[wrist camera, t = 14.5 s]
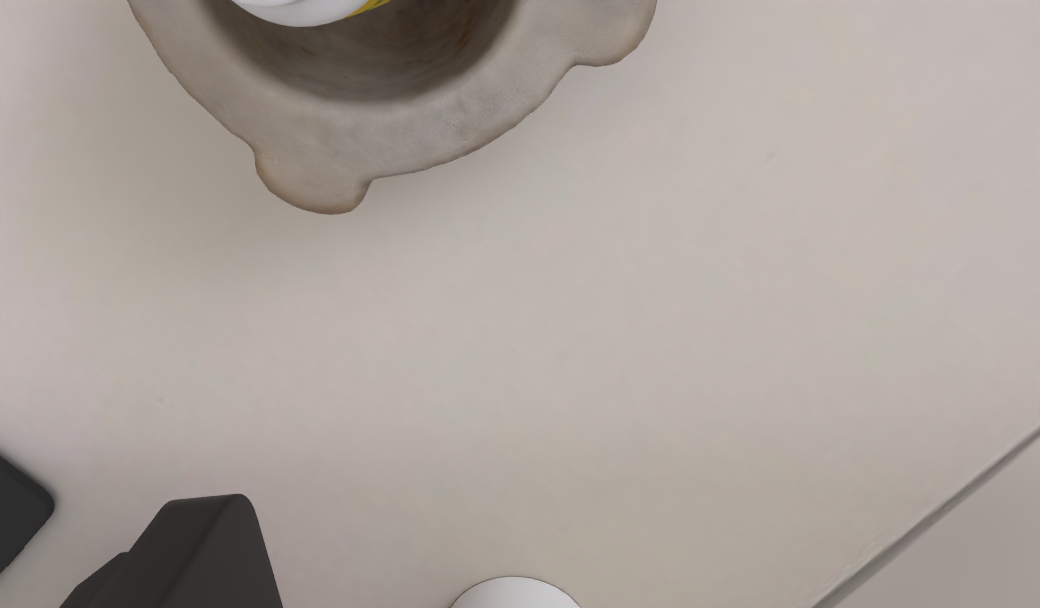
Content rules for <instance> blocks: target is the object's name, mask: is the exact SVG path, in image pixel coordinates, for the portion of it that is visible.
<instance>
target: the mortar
mask: <svg viewBox="0 0 1040 608" xmlns="http://www.w3.org/2000/svg"><path fill="white" fill-rule="evenodd" d="M127 1H128V3H129V5H130V8H131V10H132V12H133V14H134V16H135V18H136V20H137V22H138V23H139V25H140V26H141V28H142V29H143V31H144V32H145V34H146V36H147V37H148V39H149V40H150V42H151V43H152V45H153V47H154V49H155V50H156V52H157V54H158V56H159V57H160V59H161V60H162V62H163V63H164V65H165V66H166V68H167V69H168V70H169V72H170V73H172V74H173V75H174V76H175V77H176V79H177V80H178V81H179V83H180V84H181V85H182V87H183V88H184V89H185V90H186V91H187V92H188V94H189V95H190V96H191V97H193V98H194V99H195V100H196V101H197V102H198V103H200V104H201V105H202V106H203V107H204V108H205V109H206V110H207V111H208V112H209V113H210V114H211V115H213V116H214V117H215V118H216V119H217V120H218V121H219V122H220V123H221V124H222V125H223V126H224V127H225V128H226V129H228V130H229V131H230V132H231V133H232V134H234V135H235V136H237V137H239V138H240V139H242V140H243V141H245V142H246V143H247V144H248V145H249V146H250V147H251V149H252V150H253V152H254V156H255V165H256V171H257V174H258V176H259V177H260V179H261V180H262V181H263V183H264V184H265V186H266V187H267V188H268V190H269V191H270V192H272V193H273V194H275V195H276V196H277V197H279V198H280V199H282V200H284V201H286V202H288V203H289V204H291V205H293V206H295V207H298V208H300V209H303V210H306V211H311V212H315V213H320V214H342V213H346V212H350V211H352V210H353V209H354V208H356V207H357V206H358V205H359V204H360V203H361V201H362V200H363V198H364V196H365V194H366V192H367V190H368V187H369V185H370V183H371V182H372V181H373V180H374V179H377V178H381V177H388V176H394V175H400V174H408V173H414V172H418V171H422V170H426V169H429V168H431V167H434V166H437V165H440V164H445V163H447V162H450V161H453V160H455V159H457V158H459V157H462V156H465V155H468V154H469V153H471V152H473V151H476V150H478V149H480V148H481V147H483V146H485V145H486V144H488V143H490V142H492V141H493V140H495V139H496V138H498V137H500V136H501V135H503V134H504V133H505V132H507V131H508V130H510V129H512V128H513V127H515V126H516V125H517V124H518V123H519V122H520V121H521V120H522V119H524V118H525V117H526V116H527V115H529V114H530V113H532V112H533V111H534V110H535V109H537V108H538V107H539V106H540V105H541V104H542V103H543V102H544V101H545V100H546V99H547V97H548V96H549V95H550V94H551V92H552V91H553V89H554V88H555V86H556V85H557V84H558V82H559V81H560V80H561V79H562V77H563V76H564V75H565V73H566V72H567V71H568V70H569V69H571V68H572V67H573V66H576V65H588V66H594V67H598V66H606V65H611V64H614V63H617V62H619V61H621V60H622V59H623V58H624V57H625V56H626V55H628V54H629V53H630V52H632V51H633V50H635V49H636V48H637V46H638V45H639V44H640V42H641V41H642V39H643V38H644V36H645V35H646V32H647V30H648V28H649V26H650V23H651V21H652V19H653V16H654V12H655V8H656V3H657V0H391V1H389V2H388V3H385V4H383V5H381V6H379V7H376V8H373V9H371V10H367V11H364V12H362V13H359V14H356V15H353V16H350V17H347V18H344V19H341V20H338V21H335V22H332V23H328V24H323V25H318V26H308V27H294V26H286V25H280V24H276V23H273V22H270V21H266V20H264V19H261V18H259V17H257V16H255V15H253V14H251V13H250V12H248V11H246V10H245V9H243V8H241V7H240V6H239V5H237V4H236V3H235V2H234V1H232V0H127Z"/></svg>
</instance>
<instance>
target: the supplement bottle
mask: <svg viewBox="0 0 1040 608" xmlns="http://www.w3.org/2000/svg"><path fill="white" fill-rule="evenodd" d="M232 1H234V2H235V3H236V4H237V5H239V6H240V7H241V8H243V9H245V10H246V11H248V12H250V13H251V14H253V15H255V16H257V17H259V18H261V19H264V20H266V21H270V22H273V23H276V24H280V25H286V26H294V27H308V26H318V25H323V24H328V23H332V22H335V21H338V20H341V19H344V18H347V17H350V16H353V15H356V14H359V13H362V12H364V11H367V10H371V9H373V8H376V7H379V6H381V5H383V4H385V3H388V2H389V1H391V0H232Z"/></svg>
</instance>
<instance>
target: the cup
mask: <svg viewBox="0 0 1040 608" xmlns="http://www.w3.org/2000/svg"><path fill="white" fill-rule="evenodd" d="M451 608H579V606H578V605H577V604H576V603H575V602H574V601H573V600H572V599H571V598H570V597H569V596H568V595H566V594H565V593H564V592H562V591H561V590H559V589H558V588H556V587H554V586H552V585H550V584H547V583H545V582H542V581H539V580H535V579H530V578H524V577H502V578H496V579H492V580H488V581H485V582H482V583H480V584H478V585H475V586H474V587H472V588H470V589H469V590H467V591H466V592H465V593H463V594H462V595H461V596H460V597H459V598H458V599H457V600H456V601H455V603H454V604H453V605H452V607H451Z"/></svg>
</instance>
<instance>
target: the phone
mask: <svg viewBox="0 0 1040 608" xmlns="http://www.w3.org/2000/svg"><path fill="white" fill-rule="evenodd" d="M53 511H54V501H53V499H52V497H51V496H50V494H49V493H48V492H47V491H46V490H45V489H43V488H42V487H41V486H40V485H38V484H37V483H36V482H34V481H33V480H31V479H30V478H29V477H27V476H26V475H25V474H23V473H22V472H21V471H19V470H18V469H17V468H15V467H14V466H13V465H11V464H10V463H8V462H7V461H6V460H4V459H3V458H2V457H0V573H1V572H2V571H3V570H4V569H5V568H6V566H8V565H9V564H10V563H11V562H12V561H13V560H14V559H15V558H16V556H17V555H18V554H19V553H20V552H21V551H22V550H23V549H24V546H25V545H26V544H27V543H28V542H29V541H30V539H31V538H32V537H33V536H34V535H35V534H36V533H37V531H38V530H39V529H40V528H41V527H42V526H43V525H44V524H45V522H46V521H47V520H48V519H49V518H50V516H51V515H52V513H53Z"/></svg>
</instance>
